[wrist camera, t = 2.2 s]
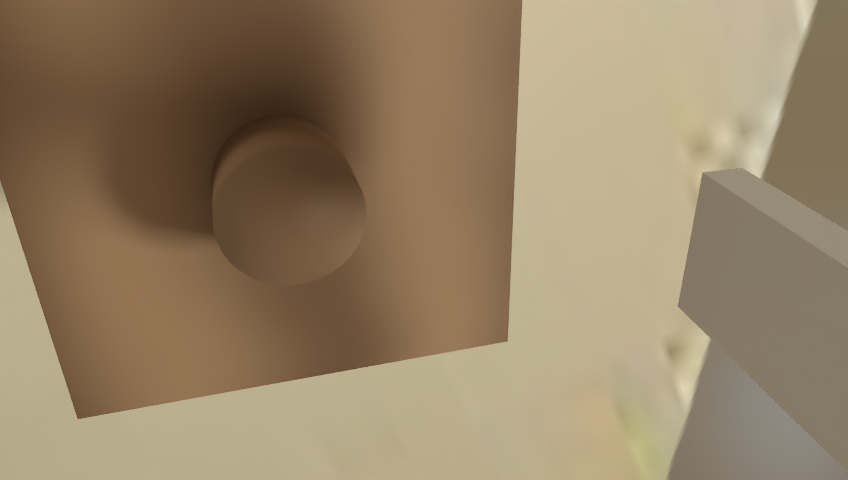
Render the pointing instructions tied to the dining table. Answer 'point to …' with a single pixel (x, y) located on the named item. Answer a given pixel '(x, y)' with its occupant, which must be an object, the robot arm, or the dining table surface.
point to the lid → (258, 185)
